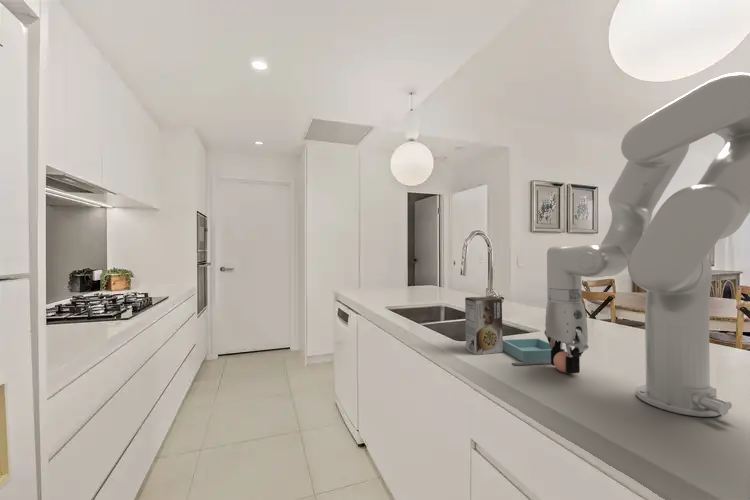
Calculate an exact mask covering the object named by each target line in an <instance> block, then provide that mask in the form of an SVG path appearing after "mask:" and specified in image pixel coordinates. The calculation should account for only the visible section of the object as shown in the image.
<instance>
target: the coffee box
mask: <svg viewBox="0 0 750 500" xmlns="http://www.w3.org/2000/svg"><path fill="white" fill-rule="evenodd" d="M464 299H465V307H464V308H465V350H467V351H468V352H470V353H471V354H473V355H475V356H479V355H489V354H498V353H504V352H503V340H504V339H503V333H504V332H503V299H502V298H500V297H499V298H498V297H496V296H492V295H487V296H486V295H485V296H472V297H471V296H470V297H468V296H467V297H465V298H464Z"/></svg>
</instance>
